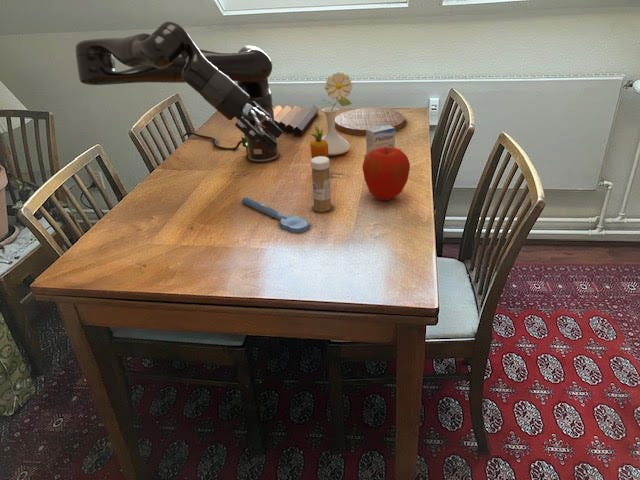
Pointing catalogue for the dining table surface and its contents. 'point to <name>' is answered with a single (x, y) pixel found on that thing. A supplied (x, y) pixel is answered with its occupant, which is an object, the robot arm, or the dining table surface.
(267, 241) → the dining table surface
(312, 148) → the carrot
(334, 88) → the flower in vase
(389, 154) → the apple
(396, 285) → the dining table surface
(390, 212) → the dining table surface
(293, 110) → the pan flute
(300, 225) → the spoon
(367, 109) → the trivet
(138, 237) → the dining table surface
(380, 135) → the medicine box
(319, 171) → the sprinkles bottle
